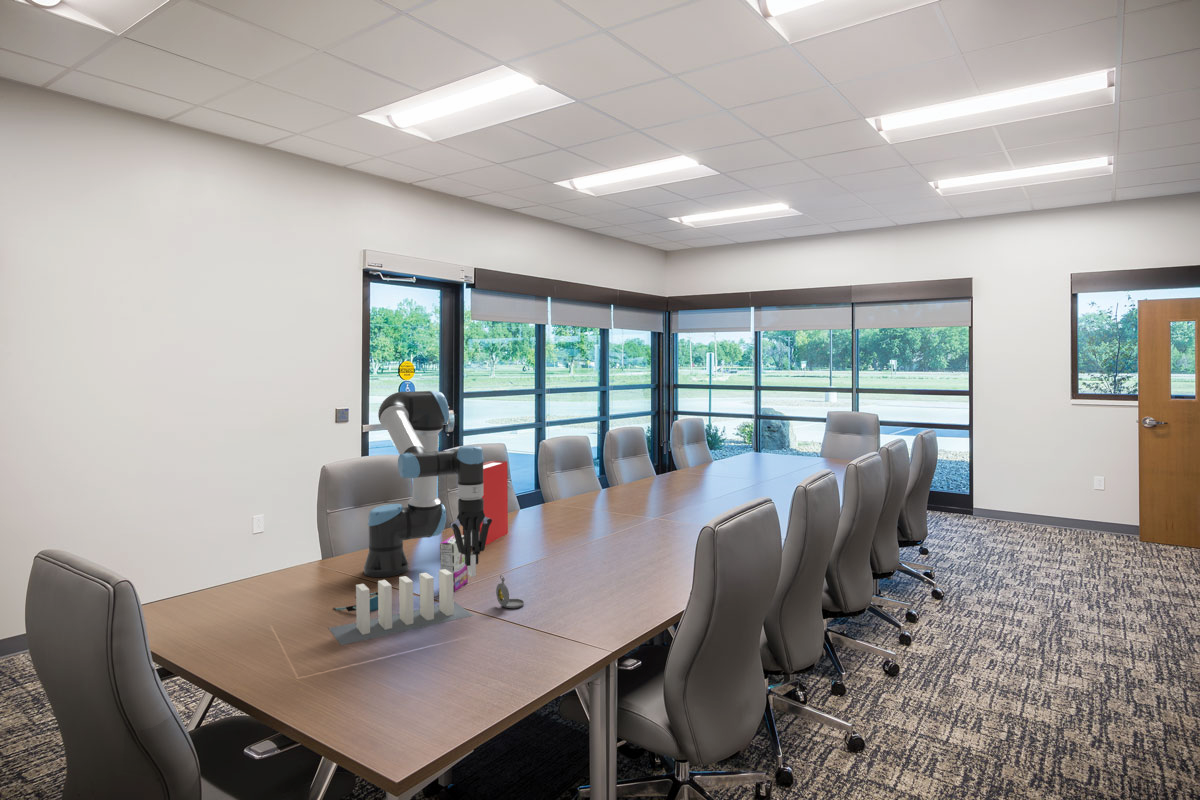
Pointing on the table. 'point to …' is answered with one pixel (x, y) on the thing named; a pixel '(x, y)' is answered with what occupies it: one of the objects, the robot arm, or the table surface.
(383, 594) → the domino
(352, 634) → the mat
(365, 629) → the domino
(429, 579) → the domino
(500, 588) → the pocket watch
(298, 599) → the table surface
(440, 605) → the domino
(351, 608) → the sunglasses
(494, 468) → the book
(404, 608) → the domino
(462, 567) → the candy bar box
